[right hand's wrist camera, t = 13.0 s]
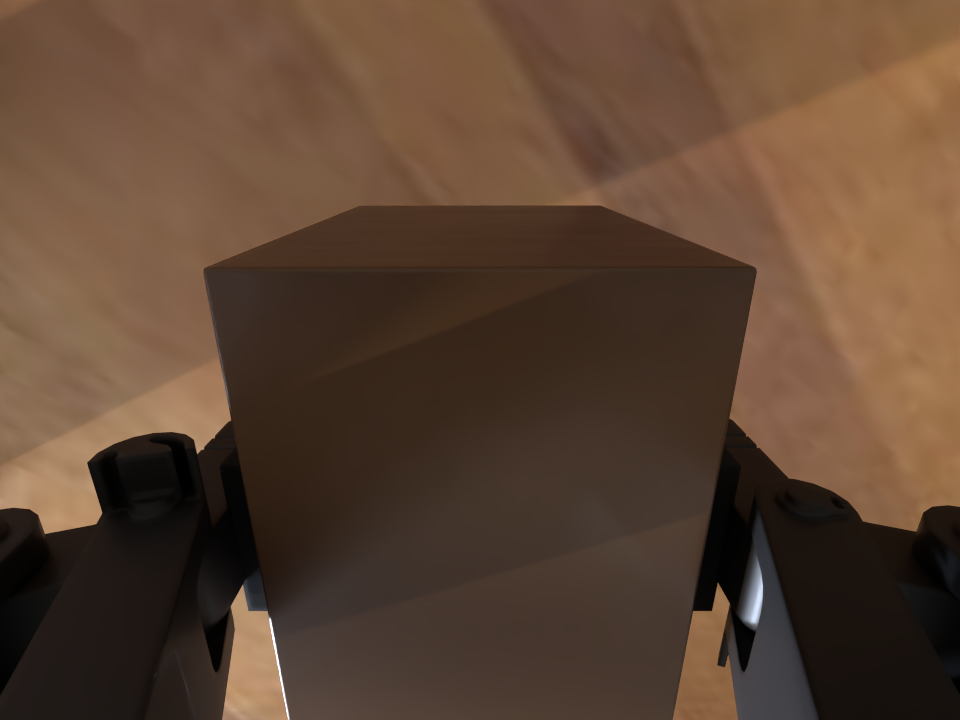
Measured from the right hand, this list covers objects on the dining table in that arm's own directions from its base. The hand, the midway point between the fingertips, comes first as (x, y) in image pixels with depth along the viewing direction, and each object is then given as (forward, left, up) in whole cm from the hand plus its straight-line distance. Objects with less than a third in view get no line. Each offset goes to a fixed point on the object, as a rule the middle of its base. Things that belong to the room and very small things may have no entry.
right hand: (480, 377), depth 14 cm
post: (-9, -26, -1) cm, 28 cm away
